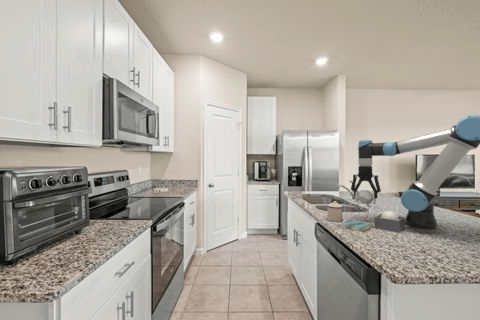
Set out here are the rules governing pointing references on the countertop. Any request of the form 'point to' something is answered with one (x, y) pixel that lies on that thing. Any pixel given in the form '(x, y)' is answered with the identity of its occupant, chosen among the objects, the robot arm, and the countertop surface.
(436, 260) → the countertop surface
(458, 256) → the countertop surface
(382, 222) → the dark grey open box
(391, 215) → the dome
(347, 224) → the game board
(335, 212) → the teacup with lid
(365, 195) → the grey rock
